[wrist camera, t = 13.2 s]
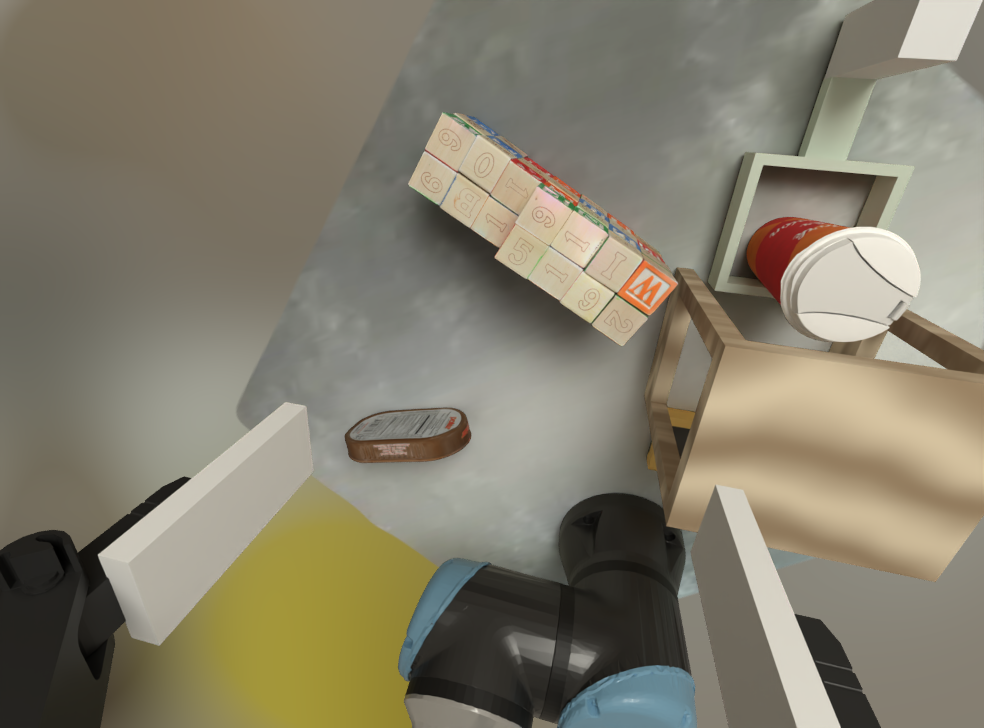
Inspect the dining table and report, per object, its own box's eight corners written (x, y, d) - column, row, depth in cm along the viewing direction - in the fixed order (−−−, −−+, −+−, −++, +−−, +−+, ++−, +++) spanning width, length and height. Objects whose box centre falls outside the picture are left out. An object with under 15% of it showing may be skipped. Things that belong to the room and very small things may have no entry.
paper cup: (850, 225, 40) (964, 261, 27) (792, 303, 43) (869, 367, 31) (765, 188, 40) (839, 208, 28) (714, 270, 43) (760, 320, 31)
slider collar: (836, 298, 42) (900, 339, 33) (707, 281, 44) (734, 316, 35) (953, 20, 33) (1085, -27, 24) (785, 13, 35) (849, -33, 26)
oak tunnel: (814, 423, 48) (935, 582, 30) (644, 395, 50) (666, 526, 33) (874, 291, 41) (1069, 396, 24) (676, 267, 44) (725, 345, 27)
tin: (369, 428, 60) (336, 468, 53) (362, 407, 59) (327, 445, 52) (479, 423, 56) (460, 465, 49) (474, 400, 55) (454, 440, 48)
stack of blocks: (441, 176, 45) (390, 187, 34) (473, 115, 42) (429, 104, 32) (617, 302, 47) (622, 349, 36) (661, 250, 44) (680, 285, 33)
